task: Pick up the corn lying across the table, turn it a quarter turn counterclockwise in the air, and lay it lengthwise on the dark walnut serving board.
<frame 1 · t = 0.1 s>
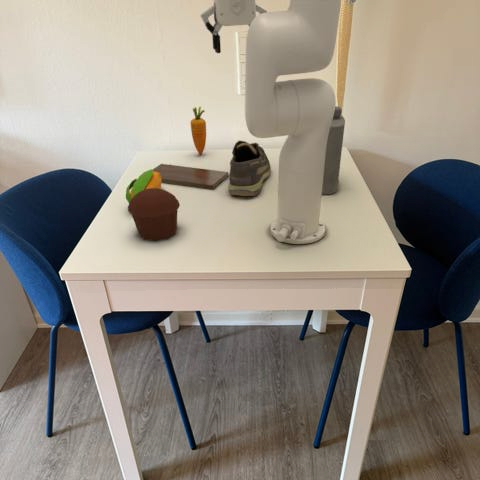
hand: (235, 51, 117), 31 cm above the table, tool pointing down, fingers open, 9 cm apart
muffin: (158, 232, 104), on the table
flask: (326, 184, 124), on the table
corn: (148, 201, 119), on the table
board: (185, 177, 131), on the table
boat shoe: (251, 180, 129), on the table
carrot: (200, 155, 147), on the table
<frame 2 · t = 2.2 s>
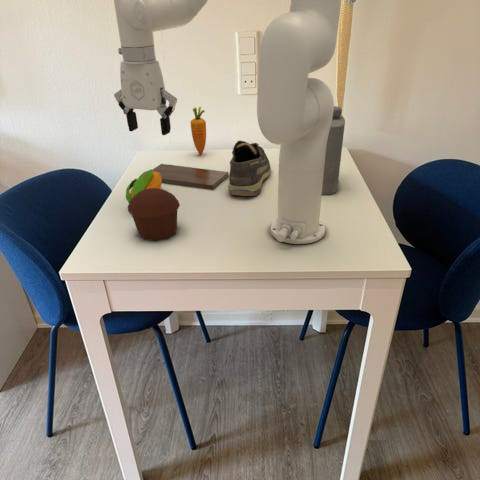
hand: (149, 131, 113), 16 cm above the table, tool pointing down, fingers open, 9 cm apart
nothing on the table moved.
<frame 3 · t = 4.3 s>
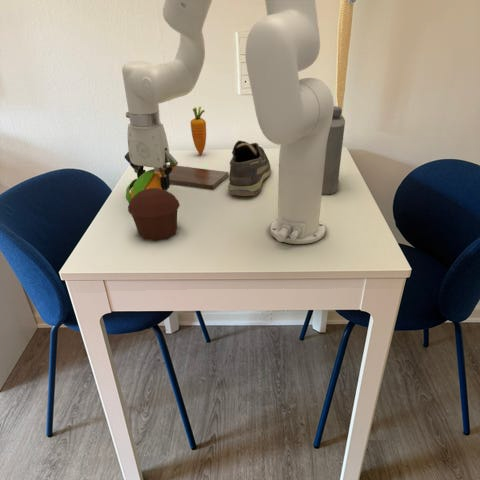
hand: (154, 187, 122), 2 cm above the table, tool pointing down, fingers closed on corn, 6 cm apart
corn: (148, 201, 119), on the table, touching gripper
everything else where it was.
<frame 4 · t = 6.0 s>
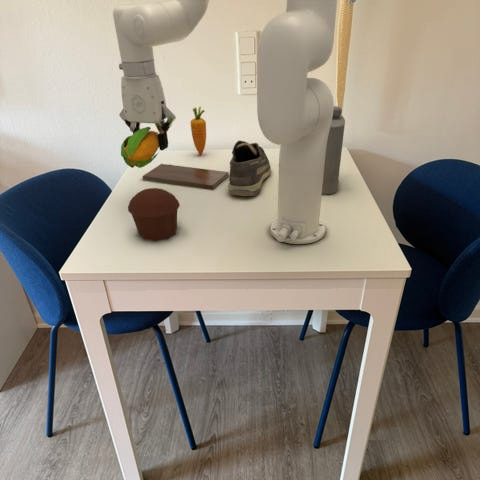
hand: (152, 147, 114), 13 cm above the table, tool pointing down, fingers closed on corn, 6 cm apart
corn: (145, 161, 111), point 11 cm above the table, touching gripper
everything else where it was.
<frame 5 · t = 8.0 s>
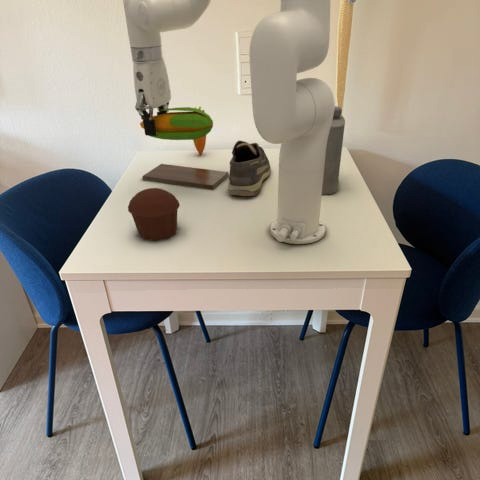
hand: (157, 131, 118), 15 cm above the table, tool pointing down, fingers closed on corn, 6 cm apart
corn: (177, 138, 119), point 13 cm above the table, touching gripper
everything else where it was.
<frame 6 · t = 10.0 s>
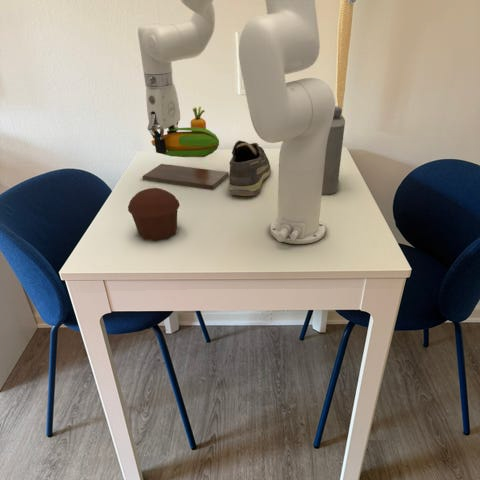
hand: (167, 148, 127), 8 cm above the table, tool pointing down, fingers closed on corn, 6 cm apart
corn: (185, 155, 128), point 6 cm above the table, touching gripper
everything else where it was.
when the fingers open (3 cm above the table, at t = 11.7 s): corn stays where it is, resting on board.
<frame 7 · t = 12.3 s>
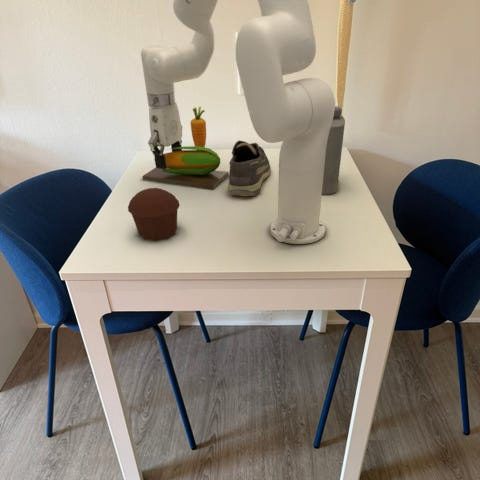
hand: (169, 162, 130), 4 cm above the table, tool pointing down, fingers open, 9 cm apart
corn: (187, 173, 131), point 1 cm above the table, touching board
everything else where it was.
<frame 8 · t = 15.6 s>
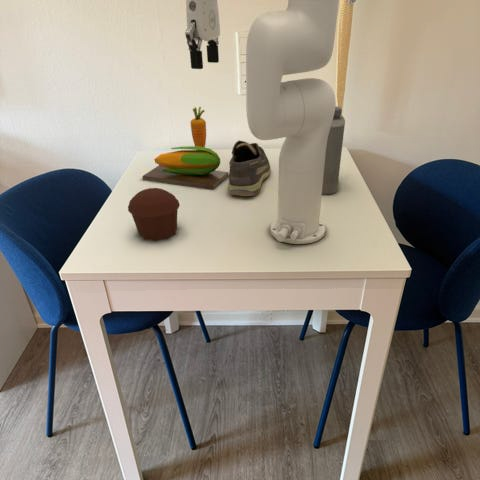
hand: (205, 65, 117), 28 cm above the table, tool pointing down, fingers open, 9 cm apart
nothing on the table moved.
at the end: corn 0.9 cm from the target spot, point 1.0 cm above the table; corn touching board; the gripper is holding nothing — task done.
